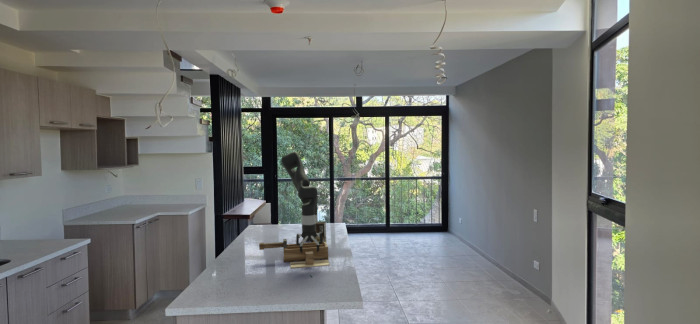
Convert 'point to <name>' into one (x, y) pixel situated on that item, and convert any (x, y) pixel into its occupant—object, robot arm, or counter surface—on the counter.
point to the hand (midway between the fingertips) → (309, 252)
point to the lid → (309, 262)
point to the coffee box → (320, 228)
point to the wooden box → (294, 253)
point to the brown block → (270, 245)
